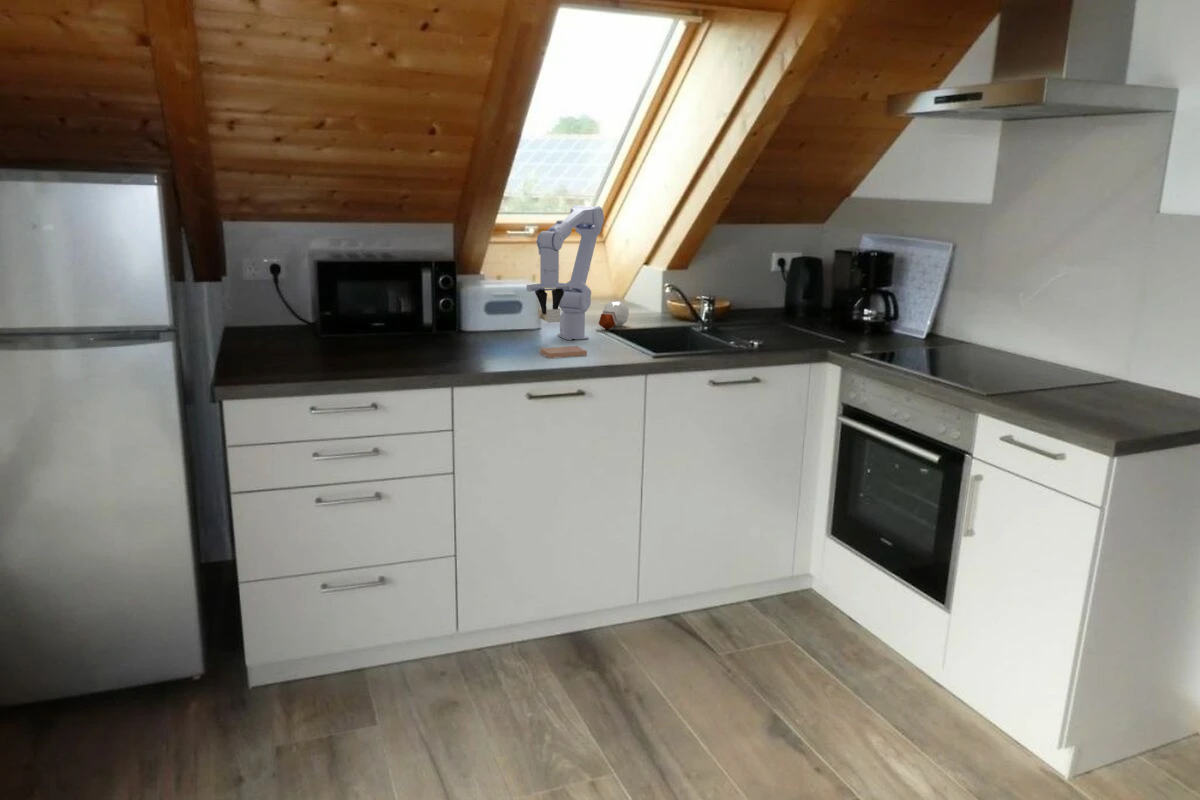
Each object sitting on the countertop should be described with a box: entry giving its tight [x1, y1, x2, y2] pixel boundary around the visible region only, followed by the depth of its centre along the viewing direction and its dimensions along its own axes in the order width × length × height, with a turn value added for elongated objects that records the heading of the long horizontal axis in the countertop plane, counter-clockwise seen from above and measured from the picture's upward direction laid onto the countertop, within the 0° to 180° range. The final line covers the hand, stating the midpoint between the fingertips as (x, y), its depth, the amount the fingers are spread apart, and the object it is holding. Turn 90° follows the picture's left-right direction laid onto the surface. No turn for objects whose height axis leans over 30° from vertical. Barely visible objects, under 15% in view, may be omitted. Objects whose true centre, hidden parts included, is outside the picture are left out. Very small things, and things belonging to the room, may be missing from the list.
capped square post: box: [537, 307, 561, 324], centre depth 278 cm, size 11×4×4 cm, turn 23°
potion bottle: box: [598, 300, 630, 330], centre depth 313 cm, size 9×10×15 cm
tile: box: [539, 345, 588, 359], centre depth 267 cm, size 2×12×8 cm
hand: (549, 313), depth 277 cm, fingers closed on capped square post, 3 cm apart
